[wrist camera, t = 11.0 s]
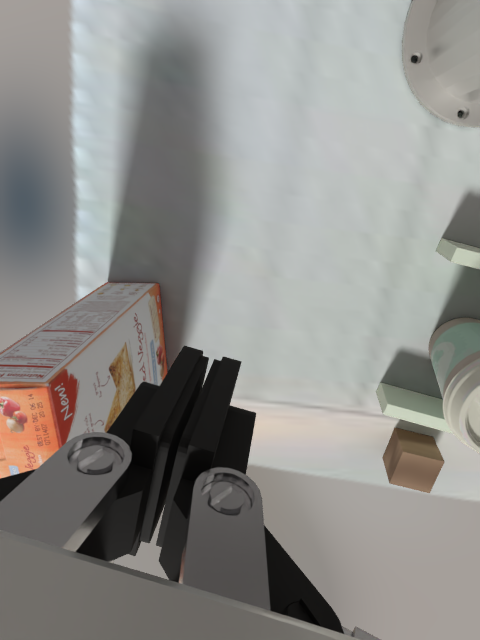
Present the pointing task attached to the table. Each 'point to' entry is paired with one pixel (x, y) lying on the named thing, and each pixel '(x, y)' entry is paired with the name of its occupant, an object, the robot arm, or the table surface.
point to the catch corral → (417, 404)
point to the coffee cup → (459, 376)
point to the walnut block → (412, 460)
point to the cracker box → (78, 372)
